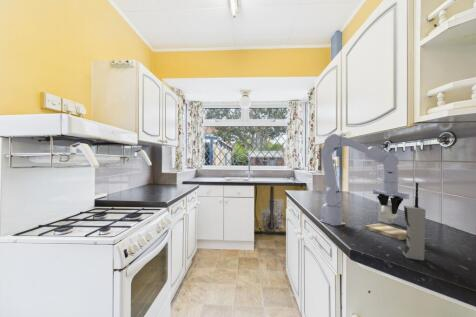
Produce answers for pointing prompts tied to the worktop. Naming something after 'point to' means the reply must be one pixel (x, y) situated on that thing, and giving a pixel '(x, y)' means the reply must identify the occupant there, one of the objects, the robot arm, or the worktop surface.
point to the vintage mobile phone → (415, 230)
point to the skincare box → (385, 220)
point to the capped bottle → (387, 212)
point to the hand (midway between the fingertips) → (389, 212)
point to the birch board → (387, 231)
